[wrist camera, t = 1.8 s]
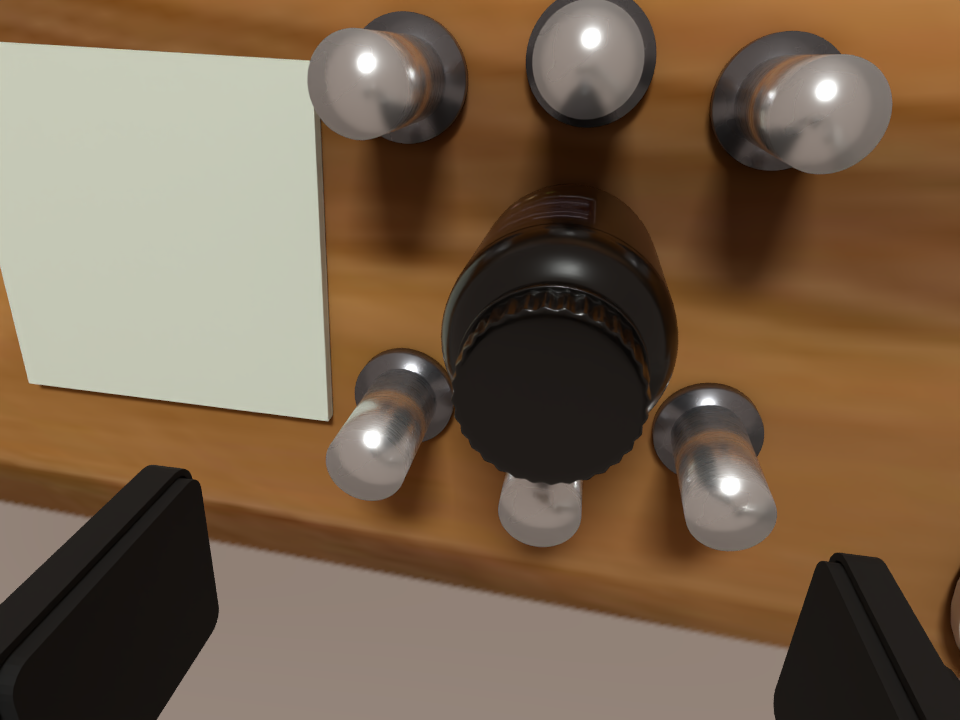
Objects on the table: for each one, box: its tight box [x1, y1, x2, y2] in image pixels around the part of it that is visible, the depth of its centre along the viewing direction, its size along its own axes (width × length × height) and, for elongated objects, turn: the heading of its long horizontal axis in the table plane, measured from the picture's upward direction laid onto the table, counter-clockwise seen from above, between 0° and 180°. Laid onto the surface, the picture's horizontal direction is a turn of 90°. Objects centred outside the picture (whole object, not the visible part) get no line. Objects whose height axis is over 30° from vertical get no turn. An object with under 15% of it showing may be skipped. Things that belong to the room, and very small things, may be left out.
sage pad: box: [0, 42, 333, 421], centre depth 29 cm, size 15×15×1 cm
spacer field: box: [307, 0, 892, 551], centre depth 24 cm, size 17×19×6 cm
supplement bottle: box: [441, 184, 678, 485], centre depth 22 cm, size 7×7×12 cm
